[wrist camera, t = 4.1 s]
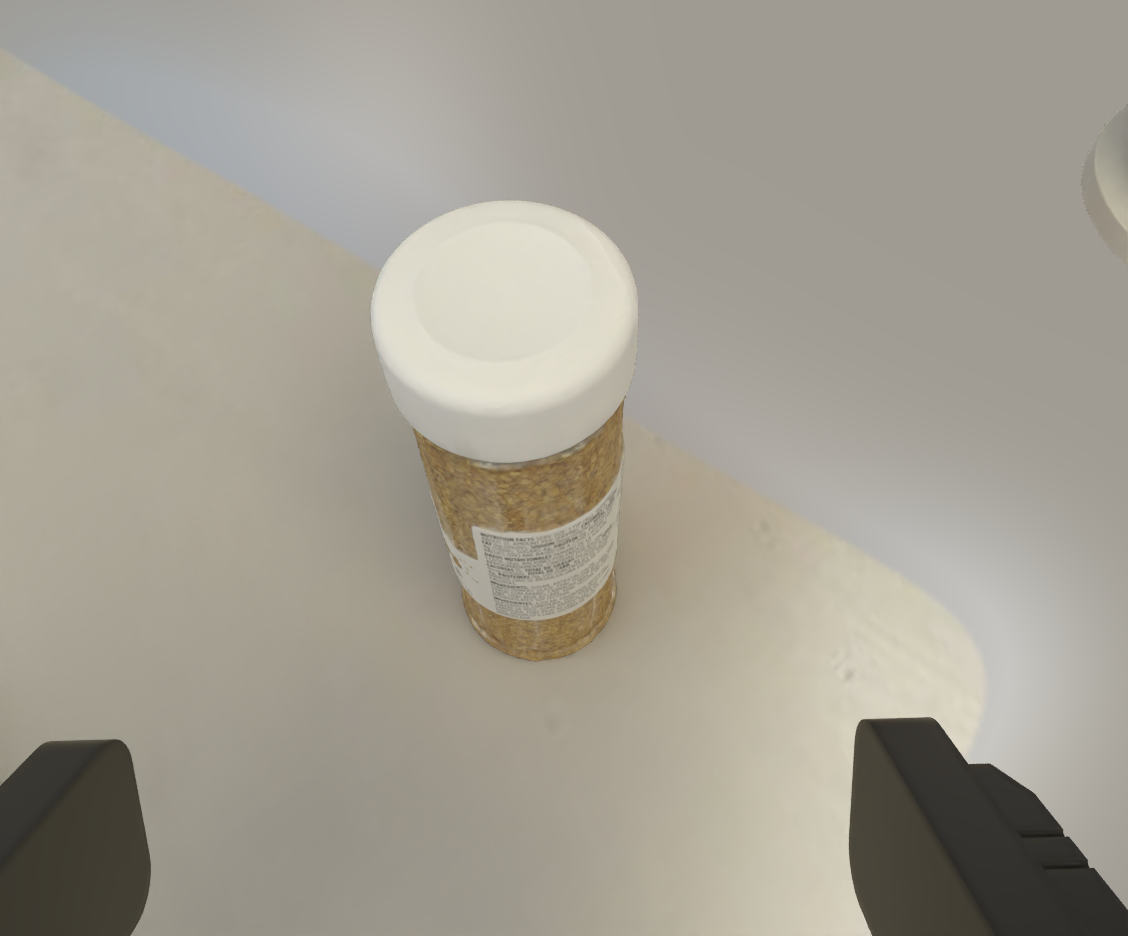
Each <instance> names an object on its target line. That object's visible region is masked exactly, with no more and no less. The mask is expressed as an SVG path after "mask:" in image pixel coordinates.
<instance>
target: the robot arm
mask: <svg viewBox="0 0 1128 936" xmlns="http://www.w3.org/2000/svg"><path fill="white" fill-rule="evenodd" d="M849 858H850V867H851V874H852V879H853V884H854V889H855V893H856V896H857V899H858V902H859V905H860V908H861V910H862V912H863V915H864V917H865V919H866V922H867V924H868V927H869V929H870V931H871V934H872V936H1128V910H1127V909H1126V907H1125V906H1124V905H1123V904H1122V902H1121V901H1120V900H1119V899H1118V897H1117V896H1116V895H1115V894H1114V892H1113V891H1112V890H1111V889H1110V887H1109V886H1108V885H1107V884H1106V882H1105V881H1104V880H1103V879H1102V877H1101V876H1100V875H1099V874H1098V872H1097V871H1096V870H1095V869H1094V868H1089V866H1088V860H1087V859H1086V857H1085V856H1084V855H1083V854H1082V852H1081V851H1080V850H1079V849H1078V847H1077V846H1076V845H1075V844H1074V842H1073V841H1072V840H1071V839H1070V837H1065V836H1064V834H1063V829H1062V828H1061V826H1060V825H1059V824H1058V822H1057V821H1056V820H1055V819H1054V817H1053V816H1052V815H1051V814H1050V812H1049V811H1048V810H1047V809H1046V807H1045V806H1044V805H1043V804H1042V803H1041V801H1040V800H1039V799H1038V797H1037V796H1036V795H1035V794H1034V793H1033V792H1032V791H1030V790H1029V789H1027V788H1026V787H1024V786H1022V785H1021V784H1019V783H1018V782H1016V781H1015V780H1013V779H1012V778H1011V777H1009V776H1008V775H1006V774H1005V773H1003V772H1001V771H1000V770H999V769H997V768H996V767H994V766H993V765H991V764H968V763H967V762H966V760H965V759H964V758H963V756H962V755H961V753H960V752H959V751H958V749H957V748H956V747H955V745H954V744H953V742H952V741H951V740H950V738H949V737H948V736H947V734H946V733H945V731H944V730H943V729H942V727H941V726H940V725H939V723H938V722H937V721H936V720H935V719H933V718H930V717H925V718H891V719H863V720H861V721H860V722H859V724H858V726H857V729H856V735H855V745H854V762H853V779H852V796H851V813H850V830H849ZM150 876H151V862H150V854H149V849H148V844H147V838H146V833H145V827H144V822H143V817H142V811H141V806H140V800H139V795H138V789H137V784H136V779H135V773H134V768H133V762H132V758H131V754H130V752H129V749H128V748H127V746H126V745H125V744H124V743H123V742H122V741H120V740H116V739H111V740H77V741H50V742H46V743H44V744H42V745H41V746H39V747H38V748H37V749H36V750H35V751H34V752H33V753H32V754H31V755H30V756H29V757H28V758H27V759H26V760H25V761H24V762H23V763H22V764H21V765H20V766H19V767H18V768H17V769H16V771H15V772H14V773H13V774H12V775H11V776H10V777H9V778H8V779H7V780H6V781H5V782H4V783H3V784H2V785H1V786H0V936H130V935H131V934H132V932H133V930H134V929H135V927H136V925H137V923H138V922H139V920H140V918H141V915H142V913H143V910H144V907H145V904H146V901H147V897H148V892H149V886H150Z"/></svg>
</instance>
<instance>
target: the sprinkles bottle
mask: <svg viewBox="0 0 1128 936" xmlns="http://www.w3.org/2000/svg"><path fill="white" fill-rule="evenodd" d="M370 318H371V328H372V335H373V339H374V343H375V346H376V350H377V353H378V357H379V360H380V363H381V366H382V369H383V372H384V375H385V378H386V381H387V384H388V387H389V390H390V393H391V395H392V398H393V400H394V402H395V404H396V406H397V408H398V409H399V411H400V412H401V414H402V415H403V416H404V418H405V419H406V421H407V422H408V423H409V424H410V425H411V426H412V427H413V430H414V433H415V436H416V439H417V444H418V448H419V450H420V456H421V458H422V461H423V464H424V468H425V472H426V476H427V479H428V485H429V490H430V494H431V498H432V501H433V504H434V507H435V509H436V513H437V517H438V521H439V524H440V527H441V530H442V533H443V536H444V540H445V543H446V546H447V549H448V552H449V556H450V559H451V562H452V565H453V568H454V571H455V573H456V575H457V577H458V579H459V581H460V582H461V584H462V597H463V602H464V606H465V609H466V612H467V615H468V617H469V619H470V621H471V623H472V625H473V627H474V628H475V630H476V631H477V632H478V633H479V634H480V635H481V636H482V637H483V638H484V639H485V640H486V641H487V642H488V643H489V644H490V645H492V646H493V647H495V648H497V649H499V650H501V651H502V652H504V653H506V654H509V655H512V656H515V657H517V658H523V659H527V660H531V661H541V660H546V659H555V658H559V657H562V656H566V655H569V654H572V653H574V652H576V651H577V650H579V649H581V648H582V647H584V646H585V645H587V644H588V643H590V642H592V640H593V639H594V638H595V636H596V635H597V634H598V633H599V632H600V631H601V630H602V628H603V627H604V625H605V624H606V622H607V620H608V618H609V616H610V615H611V612H612V609H613V606H614V602H615V597H616V588H617V587H616V578H615V570H614V567H613V565H614V561H615V557H616V552H617V541H618V528H619V515H620V501H621V490H622V473H623V463H624V440H623V433H622V418H623V404H624V399H625V397H626V394H627V391H628V389H629V387H630V384H631V381H632V378H633V375H634V371H635V365H636V356H637V343H638V295H637V288H636V285H635V281H634V277H633V274H632V272H631V269H630V267H629V265H628V263H627V261H626V259H625V258H624V256H623V254H622V253H621V251H620V250H619V249H618V247H617V246H616V245H615V244H614V243H613V242H612V241H611V239H610V238H609V237H608V236H606V235H605V234H604V233H603V232H602V231H601V230H599V229H598V228H597V227H596V226H594V225H593V224H591V223H590V222H588V221H586V220H585V219H583V218H582V217H580V216H577V215H575V214H573V213H570V212H569V211H566V210H564V209H561V208H557V207H554V206H551V205H547V204H543V203H537V202H529V201H520V200H518V201H517V200H502V201H490V202H484V203H478V204H473V205H470V206H466V207H463V208H459V209H456V210H453V211H450V212H448V213H445V214H443V215H440V216H439V217H437V218H435V219H433V220H431V221H429V222H428V223H426V224H424V225H423V226H421V227H420V228H419V229H417V230H416V231H415V232H414V233H412V234H411V235H410V236H409V237H407V238H406V239H405V240H404V241H403V242H402V243H401V244H400V245H399V246H398V247H397V249H396V250H395V251H394V252H393V253H392V255H391V256H390V257H389V259H388V260H387V262H386V264H385V265H384V267H383V268H382V270H381V272H380V274H379V276H378V278H377V282H376V285H375V288H374V291H373V296H372V299H371V313H370Z"/></svg>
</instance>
